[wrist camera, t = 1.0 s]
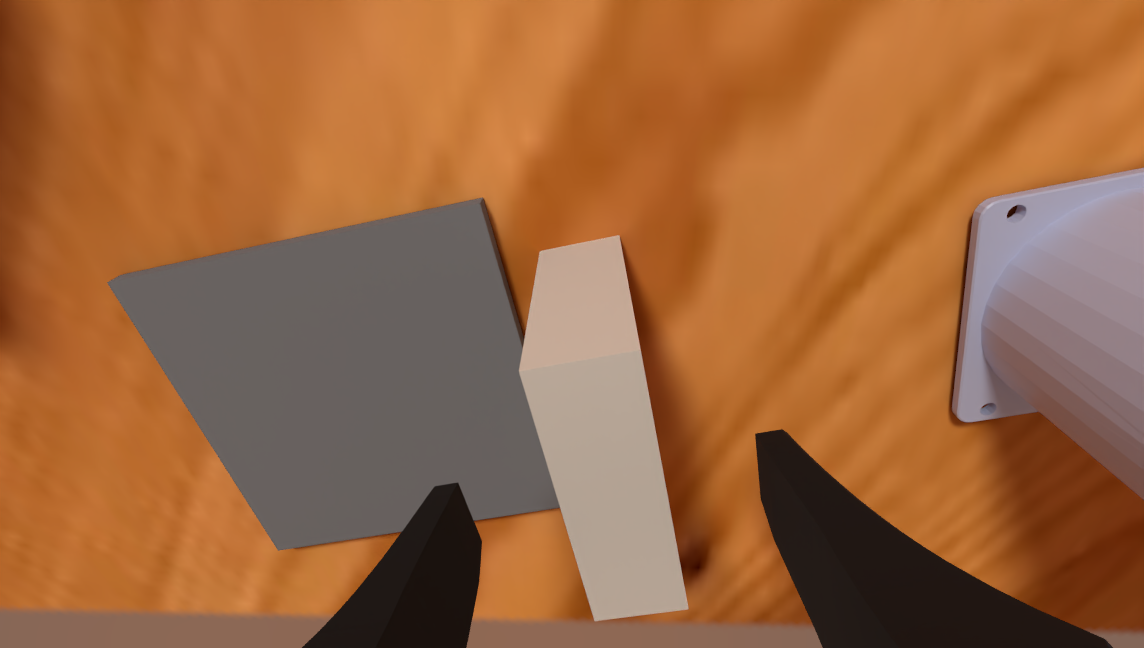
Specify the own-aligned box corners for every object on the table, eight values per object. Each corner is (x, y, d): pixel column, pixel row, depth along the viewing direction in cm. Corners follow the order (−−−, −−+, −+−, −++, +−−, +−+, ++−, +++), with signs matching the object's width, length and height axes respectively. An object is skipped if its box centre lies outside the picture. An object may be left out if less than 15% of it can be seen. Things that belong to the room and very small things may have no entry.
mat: (482, 197, 17) (479, 203, 17) (568, 494, 22) (568, 506, 22) (120, 275, 18) (107, 282, 18) (284, 538, 24) (278, 550, 23)
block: (619, 234, 18) (640, 350, 11) (656, 438, 21) (688, 609, 15) (539, 250, 18) (518, 371, 12) (590, 448, 21) (594, 621, 15)
